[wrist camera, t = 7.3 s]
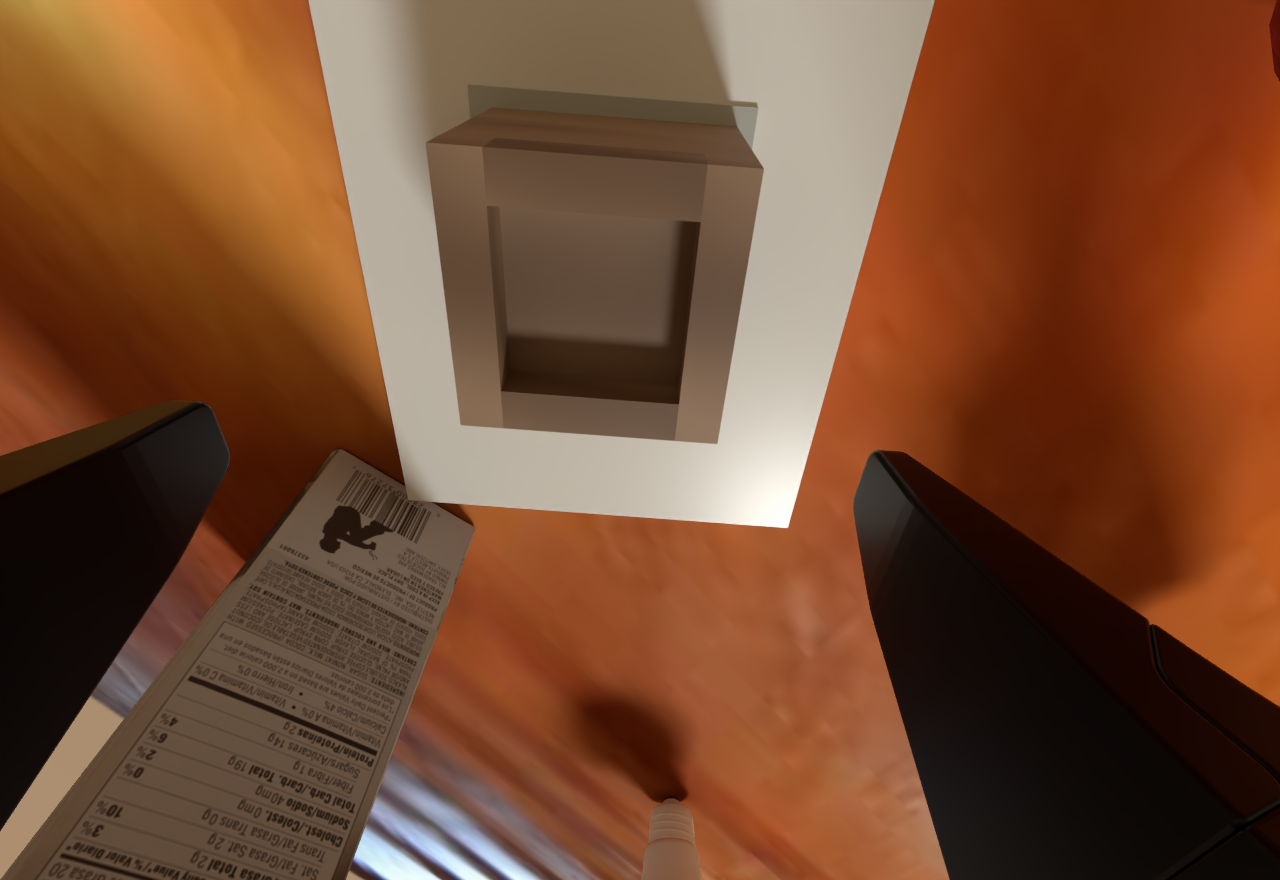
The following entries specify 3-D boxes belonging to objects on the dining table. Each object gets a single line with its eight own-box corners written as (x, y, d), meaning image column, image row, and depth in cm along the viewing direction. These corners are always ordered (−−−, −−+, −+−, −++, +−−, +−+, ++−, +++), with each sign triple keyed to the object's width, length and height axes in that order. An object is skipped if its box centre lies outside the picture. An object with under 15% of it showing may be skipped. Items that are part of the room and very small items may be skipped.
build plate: (782, 506, 23) (788, 529, 22) (419, 479, 23) (407, 501, 22) (985, -258, 12) (1016, -285, 11) (273, -319, 12) (235, -353, 11)
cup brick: (705, 348, 18) (717, 444, 14) (506, 333, 18) (460, 425, 14) (737, 126, 15) (764, 169, 11) (491, 107, 15) (425, 142, 11)
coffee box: (381, 632, 29) (140, 1154, 16) (247, 567, 27) (-167, 1114, 13) (484, 527, 25) (274, 1117, 11) (335, 440, 22) (-139, 1049, 9)
